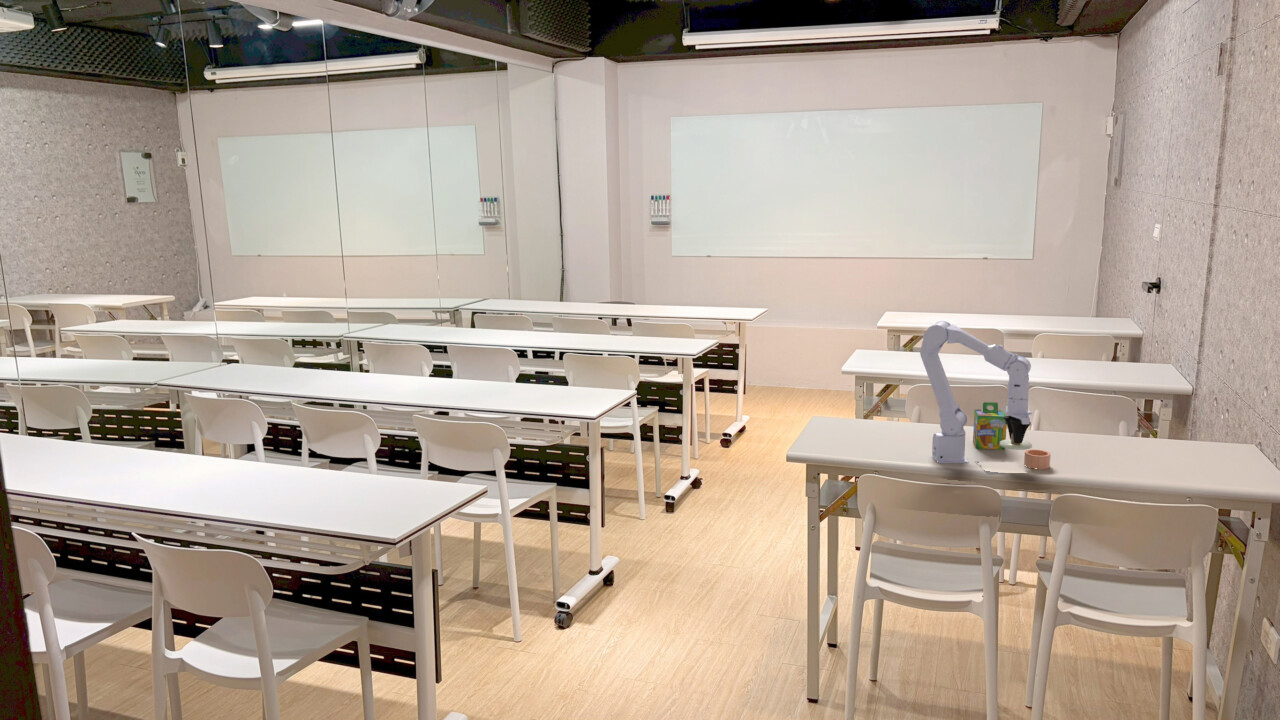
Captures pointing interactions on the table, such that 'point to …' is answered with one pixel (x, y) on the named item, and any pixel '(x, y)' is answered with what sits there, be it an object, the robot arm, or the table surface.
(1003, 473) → the mat
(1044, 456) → the bowl
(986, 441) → the chalk box
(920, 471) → the table surface
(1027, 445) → the lid
